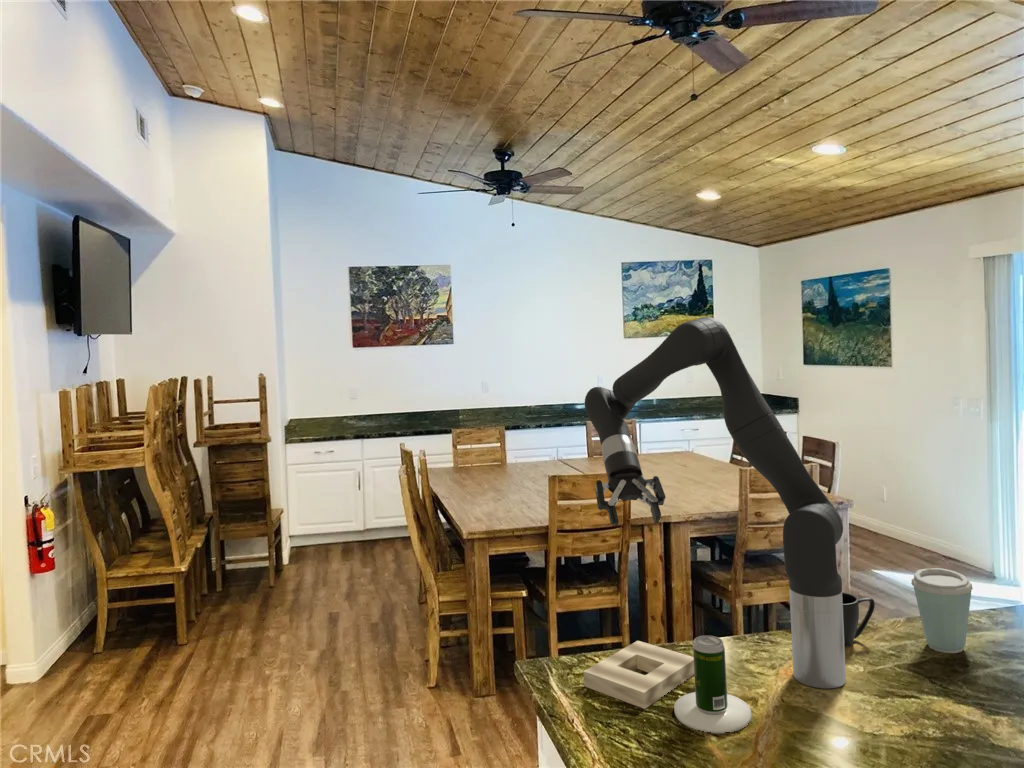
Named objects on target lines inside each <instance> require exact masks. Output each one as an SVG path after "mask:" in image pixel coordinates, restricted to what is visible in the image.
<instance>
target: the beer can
mask: <svg viewBox="0 0 1024 768" xmlns="http://www.w3.org/2000/svg"><path fill="white" fill-rule="evenodd" d="M725 649H726V648H725V645H724V641H723V640H722V639H721V638H720V637H718V636H714V635H699V636H697V637H695V638H694V639H693V645H692V654H693V655H692V657H693V658H694V690H695V691H694V692H695V695H696V705H697V707H698V709H699V710H700V711H701V712H702V713H705V714H708V715H720V714H722V713H724V712H725V711H726V709H727V705H728V703H727V694H728V689H727V687H728V686H727V685H728V684H727V669H726V667H727V666H726V652H725V651H726V650H725Z"/></svg>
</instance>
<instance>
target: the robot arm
mask: <svg viewBox="0 0 1024 768" xmlns="http://www.w3.org/2000/svg"><path fill="white" fill-rule="evenodd" d="M704 364H706V366H707V367H708V369H709V370H710V372H711V374H712V375H713V377H714V379H715V380H716V382H717V384H718V387H719V390H720V393H721V402H722V412H723V418H724V423H725V426H726V428H727V431H728V433H729V434H730V437H731V438H732V439H733V441H734V443H735V445H736V447H737V448H738V450H739V451H740V453H741V455H743V457H744V459H746V461H747V462H748V463H749V464H750V465H751V466H752V467H753V468H754V469H755V470H756V471H757V472H759V474H760V475H761V476H762V477H764V478H765V479H766V480H767V482H769V483H770V484H771V486H772V487H773V489H774V490H775V491H776V492H777V494H778V495H779V498H780V499H781V501H782V502H783V504H784V506H785V509H786V510H787V512H788V515H787V517H785V520H784V522H783V527H782V545H783V558H784V569H785V573H786V575H787V579H788V586H789V588H788V590H789V611H790V612H789V613H790V628H791V652H792V653H791V654H792V672H793V677H794V679H795V680H796V681H798V682H799V683H801V684H803V685H805V686H808V687H813V688H816V689H817V688H818V689H836V688H840V687H842V686H843V685H845V684H846V681H847V678H846V677H847V675H846V649H845V646H844V621H843V599H842V592H843V581H842V577H841V575H840V574H839V573H838V572H839V571H838V566H837V565H838V564H837V551H836V550H837V547H836V545H837V544H838V542H839V541H840V540H841V539H842V536H843V533H844V526H843V525H844V524H843V520H842V517H841V515H840V514H839V512H838V510H837V509H836V507H835V506H834V505H833V504H832V503H831V501H830V500H829V498H828V497H827V496H826V494H824V491H822V489H821V488H820V487H819V485H818V484H817V483H816V482H815V480H814V479H813V478H812V476H811V475H810V473H809V472H808V469H807V468H806V466H805V465H804V462H803V461H802V458H801V457H800V456H799V454H798V452H797V451H796V449H795V447H794V445H793V444H792V442H791V441H790V439H789V437H788V435H787V433H786V431H785V430H784V428H783V426H782V424H781V423H780V421H779V420H778V418H777V416H776V415H775V413H774V411H773V410H772V409H771V407H770V406H769V404H768V403H767V401H766V399H765V398H764V396H763V395H762V394H761V392H760V389H759V388H758V386H757V385H756V383H755V381H754V380H753V378H752V376H751V375H750V373H749V371H748V369H747V367H746V366H745V363H744V362H743V359H742V357H741V355H740V353H739V351H738V348H737V347H736V345H735V343H734V340H733V339H732V337H731V334H730V333H729V331H728V330H727V328H726V326H725V325H724V324H723V323H722V322H721V321H720V320H719V319H716V318H714V317H712V316H711V317H709V316H704V317H700V318H697V319H696V318H695V319H693V320H688V321H685V322H682V323H681V324H679V325H677V327H675V328H674V329H673V330H672V331H671V332H670V334H668V336H667V337H665V339H664V340H663V341H662V343H660V345H659V346H658V347H656V349H654V350H653V352H652V353H650V354H649V355H648V356H647V357H645V358H644V359H643V360H642V361H640V362H638V363H637V364H636V365H635V366H633V367H632V368H630V369H629V370H628V371H626V372H625V373H623V374H622V375H620V376H619V377H618V378H616V379H615V380H614V382H613V384H612V390H611V389H608V388H604V387H601V386H595V387H594V386H593V387H592V388H591V389H589V390H588V391H587V393H586V395H585V397H584V410H585V412H586V414H587V417H588V418H589V420H590V422H591V424H592V425H593V427H594V429H595V431H596V433H598V437H599V442H600V446H601V447H600V448H601V453H602V455H601V456H602V462H603V464H604V468H605V472H606V477H607V480H608V482H603V481H602V480H600V479H597V480H596V481H595V482H596V483H595V488H594V489H595V496H596V497H595V498H596V504H597V509H598V510H600V511H603V510H605V511H606V512H607V514H608V517H609V522H610V524H611V525H613V527H618V526H619V523H620V522H619V521H620V520H619V516H618V515H619V514H618V512H617V508H616V506H617V504H618V503H619V501H620V500H621V501H622V502H626V501H637V500H639V501H641V502H642V503H644V504H646V505H647V506H649V507H650V513H651V515H652V520H653V523H654V524H659V521H661V520H660V519H661V518H662V513H661V509H660V506H663V505H664V504H665V500H666V494H665V492H664V489H663V486H662V483H661V480H660V477H659V476H657V475H654V476H653V477H652V478H649V479H647V478H645V477H644V476H643V471H642V467H641V464H640V460H639V457H638V453H637V450H636V446H635V444H634V441H633V440H632V436H631V432H630V428H629V426H628V424H627V422H626V421H625V419H626V417H627V416H628V414H629V413H630V412H631V411H632V409H633V408H634V407H635V406H636V404H637V403H638V402H641V400H643V399H644V398H646V397H647V396H649V395H650V394H651V393H653V392H655V390H657V388H659V387H660V385H661V384H662V383H663V382H664V381H665V380H666V379H667V378H668V377H670V376H672V375H673V374H675V373H677V372H679V371H680V372H681V371H683V370H685V369H688V368H690V367H694V366H695V367H696V366H701V365H704ZM647 486H648V487H649V488H650V490H649V489H648V488H647ZM607 489H608V491H609V492H611V493H612V494H611V495H612V496H611V497H610V499H609V500H608V501H607V500H606V499H605V493H606V490H607ZM651 490H652V491H653V493H654V494H652V492H651Z"/></svg>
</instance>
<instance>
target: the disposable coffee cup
mask: <svg viewBox="0 0 1024 768" xmlns="http://www.w3.org/2000/svg"><path fill="white" fill-rule="evenodd" d="M910 584H911V585H912V587H913V590H914V595H915V600H916V602H917V607H918V611H919V615H920V622H921V626H922V629H923V635H924V638H925V642H926V643H927V646H928V647H929V649H931V650H933V651H936V652H938V653H939V652H940V653H944V654H958V653H962V651H963V650H964V648H965V646H966V641H967V633H968V625H969V615H970V607H971V598H972V590H973V589H974V588H973V583H972V582H971V581H970V580H969V579H968V578H967V577H966V576H965V575H964V574H962V573H959V572H957V571H955V570H951V569H946V568H942V567H933V568H932V567H929V568H922V569H917V570H916V572H915V573H914V574H913V577H912V579H911V583H910Z"/></svg>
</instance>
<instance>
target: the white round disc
mask: <svg viewBox="0 0 1024 768" xmlns="http://www.w3.org/2000/svg"><path fill="white" fill-rule="evenodd" d="M727 703H728V705H727V709H726V711H725V712H724V713H722V714H720V715H708V714H705V713H702V712H701V711H700V710H699V709H698V707H697V705H696V695H695V691H692V692H689V693H686V694H683V695H682V696H680V697H679V698H678V699H677V700H676V701H675V702H674V705H673V708H674V715H675V717H676V719H677V721H679V722H680V723H681V724H683V725H684V726H685V727H688V728H689V729H692V728H693V729H692V730H695V731H698V730H700V731H699V732H702V731H704V732H703V733H707V732H711V733H710V734H726V733H725V732H730V733H735V732H738V731H741V730H743V729H745V728H746V727H748V726H749V724H750V723H751V721H752V710H751V707H750V706H749V705H748V703H747V702H745V701H744V700H742V699H740V697H737V696H734V695H731V694H729V693H727ZM749 722H750V723H749ZM748 723H749V724H748ZM744 727H745V728H744ZM742 728H743V729H742ZM740 729H741V730H740ZM734 731H735V732H734Z"/></svg>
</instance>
